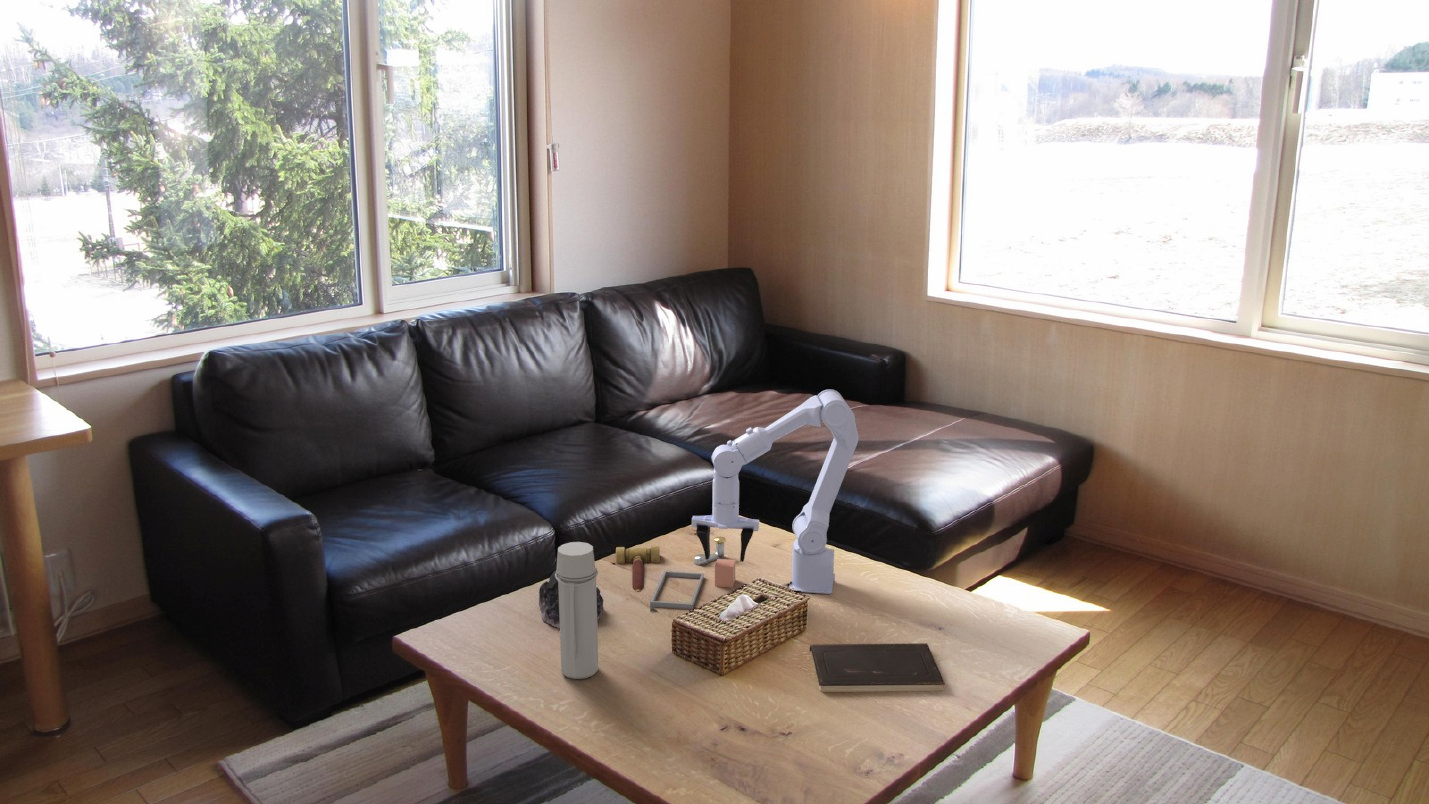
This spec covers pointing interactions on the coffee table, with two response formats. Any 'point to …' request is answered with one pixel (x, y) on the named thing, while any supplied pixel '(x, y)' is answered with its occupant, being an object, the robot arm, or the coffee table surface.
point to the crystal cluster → (557, 601)
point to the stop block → (725, 573)
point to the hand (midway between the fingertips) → (725, 558)
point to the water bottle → (577, 609)
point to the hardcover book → (876, 667)
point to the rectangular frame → (673, 604)
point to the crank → (719, 554)
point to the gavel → (637, 562)
